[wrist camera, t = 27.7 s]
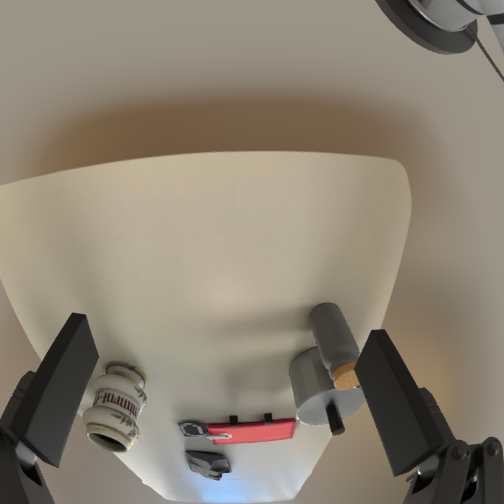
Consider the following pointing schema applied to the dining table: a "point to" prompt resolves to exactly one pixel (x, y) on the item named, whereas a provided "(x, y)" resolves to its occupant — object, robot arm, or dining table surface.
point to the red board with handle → (242, 430)
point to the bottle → (335, 345)
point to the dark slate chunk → (208, 464)
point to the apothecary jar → (116, 408)
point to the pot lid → (330, 407)
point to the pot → (309, 375)
